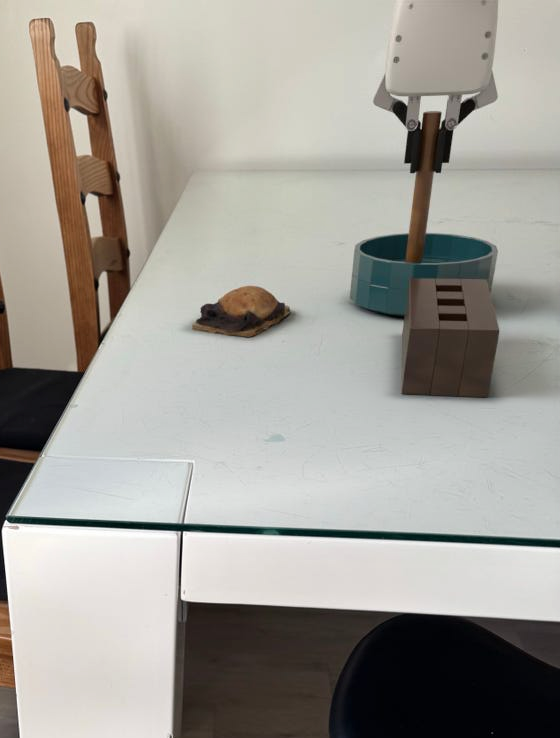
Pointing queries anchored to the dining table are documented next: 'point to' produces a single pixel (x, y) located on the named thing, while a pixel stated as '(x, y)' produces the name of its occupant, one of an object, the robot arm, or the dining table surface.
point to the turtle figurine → (242, 312)
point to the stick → (423, 186)
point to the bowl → (414, 267)
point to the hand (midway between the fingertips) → (425, 169)
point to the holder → (448, 338)
